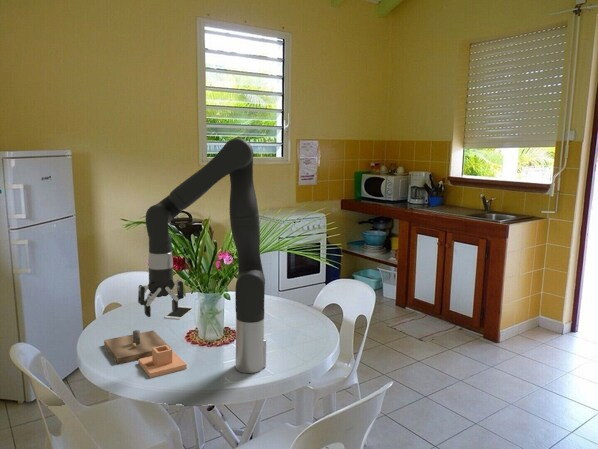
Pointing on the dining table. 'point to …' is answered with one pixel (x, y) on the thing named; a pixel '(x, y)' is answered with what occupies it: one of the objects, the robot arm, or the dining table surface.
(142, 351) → the post base
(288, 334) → the dining table surface
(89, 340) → the dining table surface
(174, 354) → the flange plate
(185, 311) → the smartphone
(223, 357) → the dining table surface
